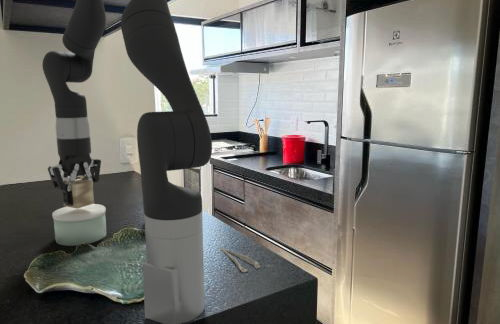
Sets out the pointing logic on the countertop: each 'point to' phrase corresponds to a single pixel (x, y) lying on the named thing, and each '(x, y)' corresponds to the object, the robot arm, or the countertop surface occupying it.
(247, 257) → the tweezers
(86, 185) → the beech block
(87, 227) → the round lidded container
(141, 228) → the countertop surface
